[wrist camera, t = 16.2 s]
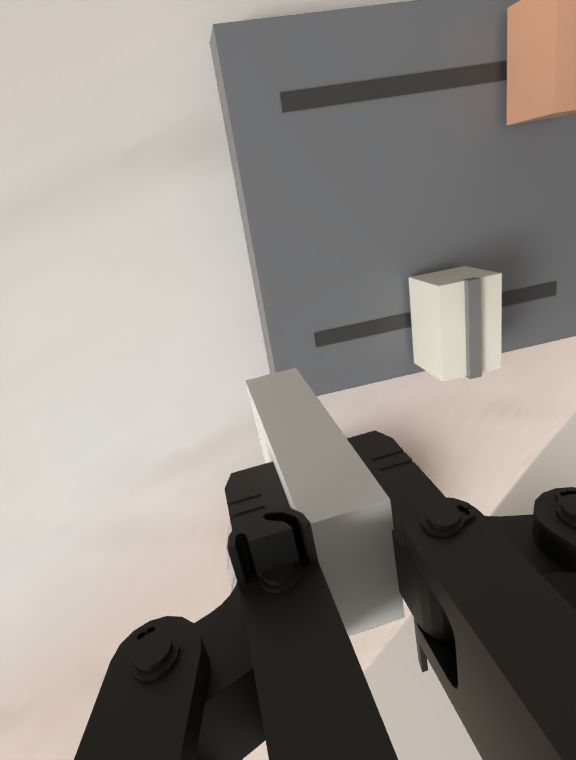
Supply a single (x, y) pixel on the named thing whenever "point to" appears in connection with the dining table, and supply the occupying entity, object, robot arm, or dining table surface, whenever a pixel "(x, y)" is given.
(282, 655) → the robot arm
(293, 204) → the console
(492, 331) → the block
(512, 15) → the fader terracotta
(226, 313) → the dining table surface
